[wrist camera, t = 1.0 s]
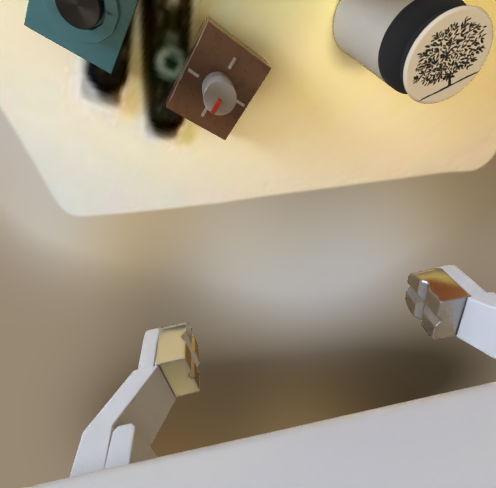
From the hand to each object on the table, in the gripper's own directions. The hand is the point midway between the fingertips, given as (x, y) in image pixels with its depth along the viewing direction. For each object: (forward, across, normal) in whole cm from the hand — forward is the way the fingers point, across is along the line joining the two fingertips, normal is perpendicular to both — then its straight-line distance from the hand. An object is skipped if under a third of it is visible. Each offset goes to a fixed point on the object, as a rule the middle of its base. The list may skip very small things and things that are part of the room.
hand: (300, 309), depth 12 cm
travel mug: (+38, -19, -8) cm, 44 cm away
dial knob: (+36, +1, -3) cm, 36 cm away
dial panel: (+39, 0, -4) cm, 40 cm away
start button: (+34, +12, -14) cm, 38 cm away
